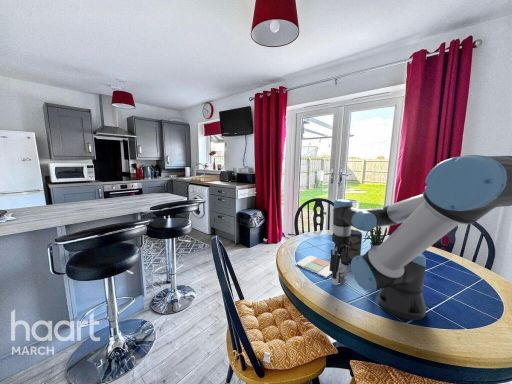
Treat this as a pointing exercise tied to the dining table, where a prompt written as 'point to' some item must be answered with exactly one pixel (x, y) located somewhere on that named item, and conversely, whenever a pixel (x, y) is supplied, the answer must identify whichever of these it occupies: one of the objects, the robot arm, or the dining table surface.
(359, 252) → the canister
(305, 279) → the dining table surface
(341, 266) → the pill bottle
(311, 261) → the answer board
